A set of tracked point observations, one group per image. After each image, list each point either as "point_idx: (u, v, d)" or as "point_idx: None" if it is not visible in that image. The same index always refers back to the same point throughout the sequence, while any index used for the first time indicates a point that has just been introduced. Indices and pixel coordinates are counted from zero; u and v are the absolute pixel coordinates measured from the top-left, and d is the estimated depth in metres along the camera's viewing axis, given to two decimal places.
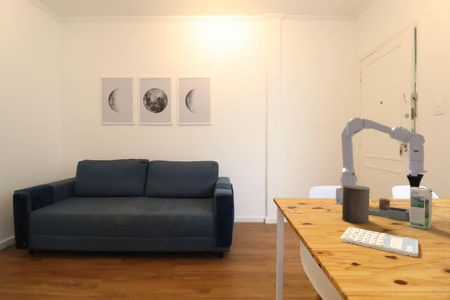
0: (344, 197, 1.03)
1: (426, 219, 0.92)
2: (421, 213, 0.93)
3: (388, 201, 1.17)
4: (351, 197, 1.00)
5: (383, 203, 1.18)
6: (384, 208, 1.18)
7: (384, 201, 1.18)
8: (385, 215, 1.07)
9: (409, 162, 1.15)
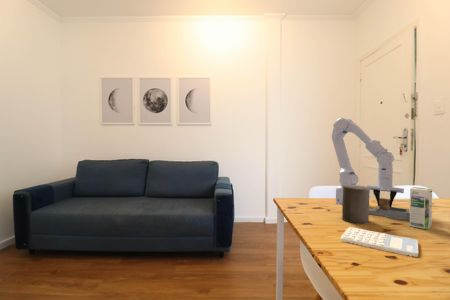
0: (344, 197, 1.03)
1: (426, 219, 0.92)
2: (421, 213, 0.93)
3: (388, 201, 1.17)
4: (351, 197, 1.00)
5: (383, 203, 1.18)
6: (384, 208, 1.18)
7: (384, 201, 1.18)
8: (385, 215, 1.07)
9: None
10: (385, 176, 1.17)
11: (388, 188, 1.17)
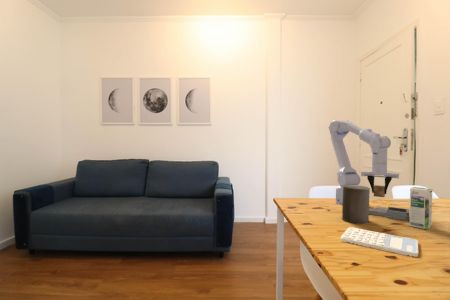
0: (344, 197, 1.03)
1: (426, 219, 0.92)
2: (421, 213, 0.93)
3: (383, 188, 1.12)
4: (351, 197, 1.00)
5: (378, 189, 1.13)
6: (379, 195, 1.13)
7: (379, 188, 1.13)
8: (385, 215, 1.07)
9: None
10: (376, 161, 1.13)
11: (383, 173, 1.12)
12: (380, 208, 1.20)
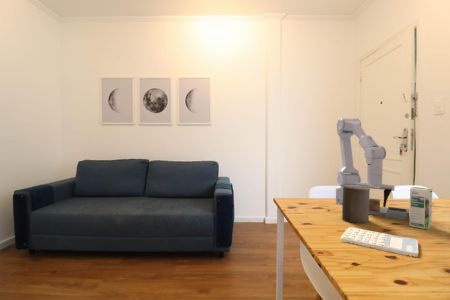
0: (344, 197, 1.03)
1: (426, 219, 0.92)
2: (421, 213, 0.93)
3: (378, 202, 1.09)
4: (351, 197, 1.00)
5: (373, 203, 1.10)
6: (373, 209, 1.10)
7: (373, 202, 1.10)
8: (385, 215, 1.07)
9: None
10: (369, 172, 1.10)
11: (377, 185, 1.08)
12: (380, 208, 1.20)
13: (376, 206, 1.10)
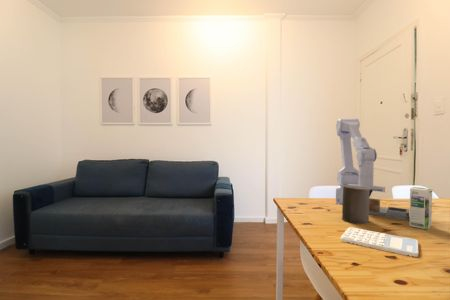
0: (344, 197, 1.03)
1: (426, 219, 0.92)
2: (421, 213, 0.93)
3: (378, 202, 1.09)
4: (351, 197, 1.00)
5: (373, 203, 1.10)
6: (373, 209, 1.10)
7: (373, 202, 1.10)
8: (385, 215, 1.07)
9: None
10: (360, 173, 1.13)
11: None
12: (380, 208, 1.20)
13: (376, 206, 1.10)
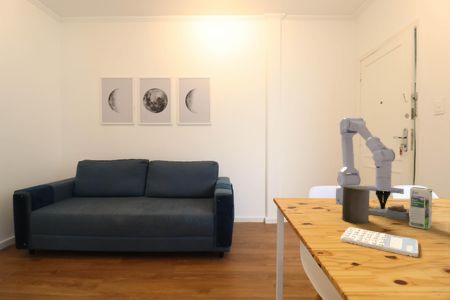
0: (344, 197, 1.03)
1: (426, 219, 0.92)
2: (421, 213, 0.93)
3: None
4: (351, 197, 1.00)
5: (399, 211, 1.05)
6: None
7: (401, 211, 1.05)
8: (385, 215, 1.07)
9: None
10: (379, 175, 1.08)
11: (386, 188, 1.06)
12: (380, 208, 1.20)
13: None
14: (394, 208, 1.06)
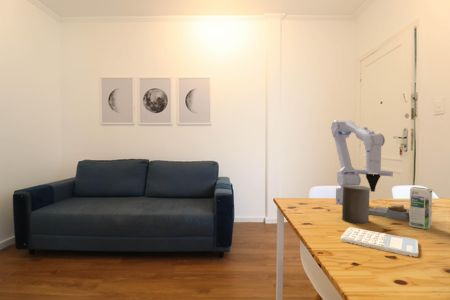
0: (344, 197, 1.03)
1: (426, 219, 0.92)
2: (421, 213, 0.93)
3: None
4: (351, 197, 1.00)
5: (399, 211, 1.05)
6: None
7: (401, 211, 1.05)
8: (385, 215, 1.07)
9: None
10: (368, 158, 1.12)
11: (376, 171, 1.10)
12: (380, 208, 1.20)
13: None
14: (394, 208, 1.06)
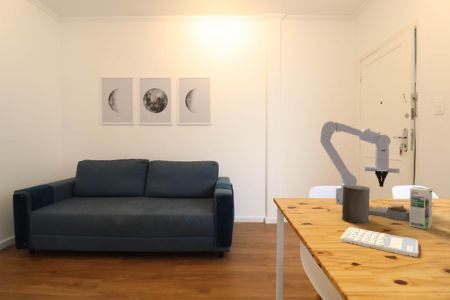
0: (344, 197, 1.03)
1: (426, 219, 0.92)
2: (421, 213, 0.93)
3: None
4: (351, 197, 1.00)
5: (399, 211, 1.05)
6: None
7: (401, 211, 1.05)
8: (385, 215, 1.07)
9: None
10: (385, 157, 1.23)
11: (384, 168, 1.23)
12: (380, 208, 1.20)
13: None
14: (394, 208, 1.06)
